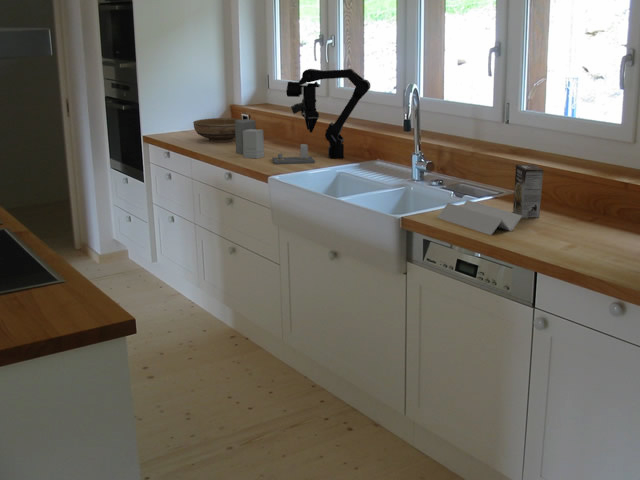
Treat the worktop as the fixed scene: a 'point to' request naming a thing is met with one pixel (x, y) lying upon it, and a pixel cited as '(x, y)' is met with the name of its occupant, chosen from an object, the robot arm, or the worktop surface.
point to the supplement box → (253, 143)
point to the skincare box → (239, 128)
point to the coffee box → (527, 190)
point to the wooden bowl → (216, 129)
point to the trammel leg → (303, 151)
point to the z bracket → (479, 217)
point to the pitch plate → (291, 160)
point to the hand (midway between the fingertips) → (309, 131)
